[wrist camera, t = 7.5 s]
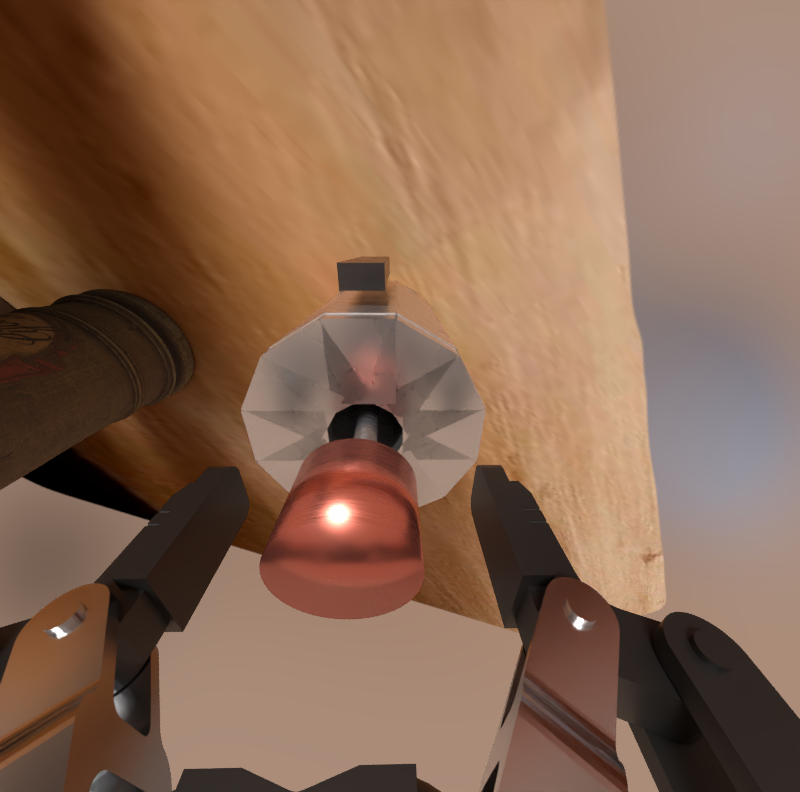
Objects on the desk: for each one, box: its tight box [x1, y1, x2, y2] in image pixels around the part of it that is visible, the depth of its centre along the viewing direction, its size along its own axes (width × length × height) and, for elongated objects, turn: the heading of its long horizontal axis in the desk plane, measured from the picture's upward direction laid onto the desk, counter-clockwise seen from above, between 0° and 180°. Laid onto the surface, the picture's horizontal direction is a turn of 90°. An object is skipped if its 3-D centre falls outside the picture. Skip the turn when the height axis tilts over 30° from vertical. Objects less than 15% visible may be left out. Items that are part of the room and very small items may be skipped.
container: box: [0, 289, 194, 490], centre depth 15 cm, size 9×9×18 cm
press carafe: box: [241, 257, 485, 507], centre depth 17 cm, size 12×10×13 cm
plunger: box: [260, 404, 424, 619], centre depth 14 cm, size 7×7×17 cm
